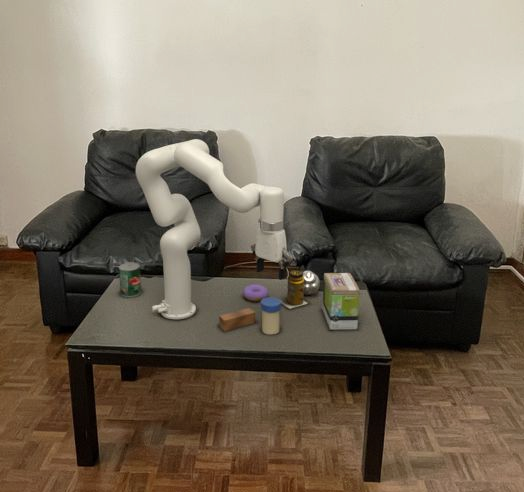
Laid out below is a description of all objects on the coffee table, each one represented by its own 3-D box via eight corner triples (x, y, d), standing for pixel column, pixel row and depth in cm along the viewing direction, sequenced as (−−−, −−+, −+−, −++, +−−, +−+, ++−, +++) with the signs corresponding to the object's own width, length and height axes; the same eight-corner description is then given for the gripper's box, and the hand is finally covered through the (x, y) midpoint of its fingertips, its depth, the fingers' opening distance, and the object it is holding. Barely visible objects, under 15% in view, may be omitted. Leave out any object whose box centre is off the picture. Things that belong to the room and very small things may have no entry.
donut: (237, 296, 210) (238, 284, 210) (253, 293, 217) (254, 281, 217) (256, 304, 203) (258, 292, 203) (272, 301, 210) (274, 289, 210)
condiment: (308, 303, 206) (309, 273, 203) (289, 309, 201) (290, 278, 198) (296, 296, 212) (297, 267, 209) (278, 301, 207) (278, 272, 204)
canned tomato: (139, 297, 210) (137, 270, 208) (118, 297, 210) (116, 270, 207) (142, 288, 218) (141, 262, 215) (122, 288, 218) (121, 262, 215)
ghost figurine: (292, 296, 211) (292, 272, 209) (302, 287, 219) (303, 263, 217) (313, 301, 207) (314, 277, 205) (323, 292, 215) (324, 268, 213)
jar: (267, 336, 182) (268, 308, 180) (258, 328, 187) (258, 301, 185) (282, 331, 185) (283, 304, 183) (273, 323, 190) (273, 297, 188)
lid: (267, 314, 180) (267, 308, 180) (257, 306, 186) (257, 299, 185) (284, 309, 183) (285, 303, 183) (274, 301, 189) (274, 295, 189)
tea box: (358, 329, 187) (360, 289, 184) (329, 330, 186) (330, 290, 183) (348, 309, 202) (350, 271, 198) (321, 309, 201) (322, 272, 197)
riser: (224, 331, 185) (224, 320, 184) (219, 326, 189) (219, 315, 188) (255, 322, 191) (255, 312, 190) (249, 317, 195) (249, 307, 194)
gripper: (244, 222, 180) (244, 271, 184) (286, 233, 170) (285, 285, 174) (258, 217, 186) (258, 264, 190) (300, 227, 175) (299, 278, 179)
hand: (271, 274), depth 182 cm, fingers open, 8 cm apart
